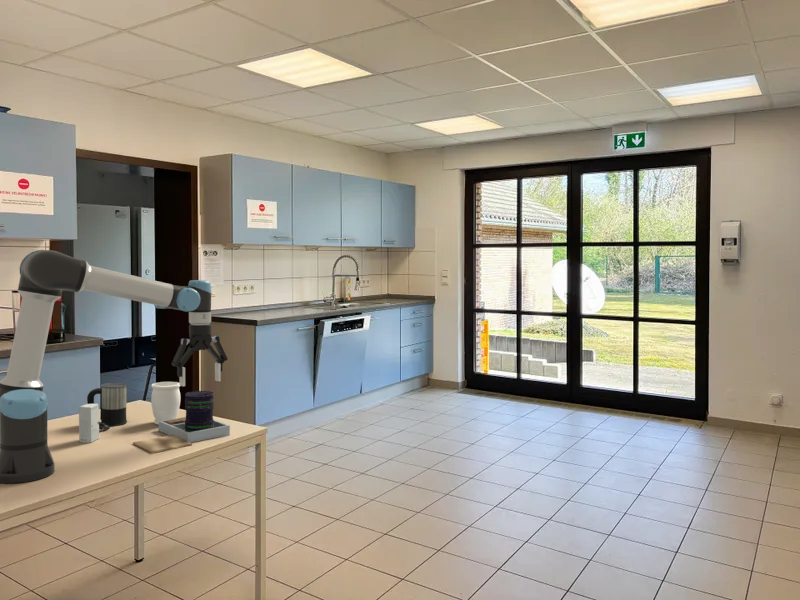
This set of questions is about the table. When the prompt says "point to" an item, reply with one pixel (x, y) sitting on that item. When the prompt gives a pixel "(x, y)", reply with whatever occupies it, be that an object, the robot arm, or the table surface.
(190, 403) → the rusty oil drum
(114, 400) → the milk frother
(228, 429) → the tray
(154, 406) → the jar
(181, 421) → the block
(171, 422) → the block
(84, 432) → the skincare box
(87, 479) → the table surface
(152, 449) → the mat
